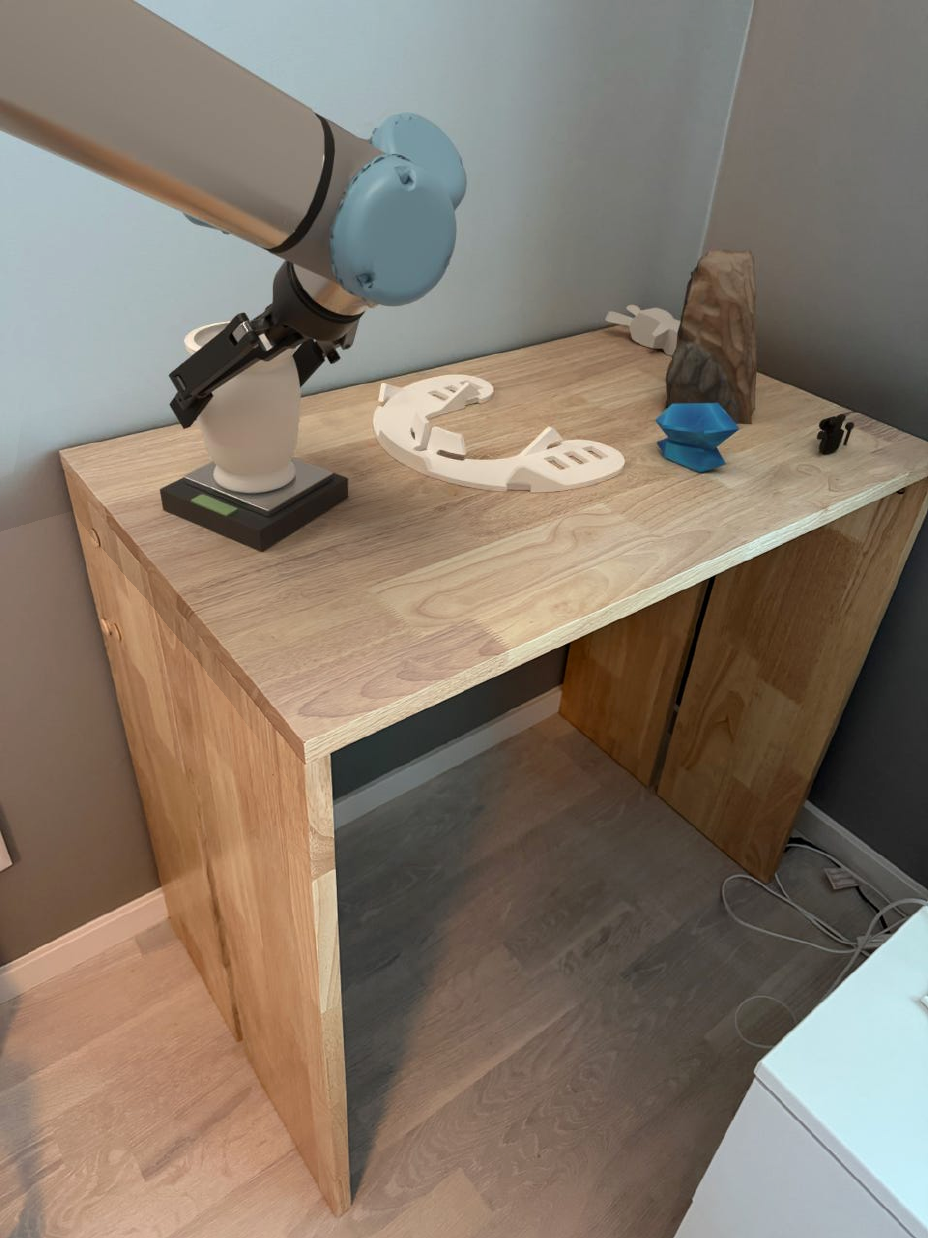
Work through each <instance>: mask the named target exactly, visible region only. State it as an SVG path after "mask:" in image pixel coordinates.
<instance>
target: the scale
mask: <svg viewBox="0 0 928 1238" xmlns="http://www.w3.org/2000/svg"><path fill="white" fill-rule="evenodd" d="M333 473H334V479H332V480H330V481H329V482H327V483H325V484H324V485H322V486H320V487H319V488H317V489H315V490H314V491H312V492H310V493H308V494H307V495H305V496H303V497H302V498H300V499H298V500H297V501H295V502H293V503H292V504H290V505H288V506H286V507H285V508H283V509H281V510H280V511H278V512H276V513H275V514H273V515H271V516H270V517H267V516H265V515H262V514H260V513H257V512H255V511H253V510H250V509H248V508H245V507H243V506H240V505H238V504H235V503H233V502H230V501H228V500H225V499H223V498H220V497H218V496H216V495H213V494H211V493H208V492H206V491H203V490H201V489H198V488H196V487H193V486H191V485H188V484H186V483H184V482H183V477H182V478H180V479H178V480H176V481H173V482H171V483H169V484H167V485H165V486H163V487H161V488H159V494H160V499H161V505H162V511H165V512H168V513H170V514H171V515H174V516H177V517H178V518H181V519H184V520H186V521H189V522H191V523H193V524H195V525H197V526H200V527H203V528H205V529H207V530H209V531H212V532H214V533H216V534H218V535H221V536H224V537H225V538H228V539H231V540H233V541H235V542H237V543H240V544H242V545H245V546H246V547H248V548H249V547H250V548H251V549H254V550H256V551H259V552H261V553H262V552H264V551H266V550H268V549H269V548H271V547H272V546H274V545H276V544H277V543H279V542H281V541H282V540H283V539H285V538H287V537H288V536H290V535H292V534H293V533H294V532H296V531H298V530H300V529H301V528H302V527H304V526H306V525H307V524H309V523H310V522H312V521H314V520H315V519H317V518H319V517H320V516H321V515H323V514H325V513H326V512H328V511H330V510H332V509H333V508H334V507H336V506H337V505H339V504H341V503H343V502H344V501H345V500H348V499H349V497H350V496H349V478H348V476H347V477H346V476H344V475H342V474H338V473H336V472H333Z"/></svg>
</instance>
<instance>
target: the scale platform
mask: <svg viewBox="0 0 928 1238" xmlns="http://www.w3.org/2000/svg"><path fill="white" fill-rule="evenodd" d="M291 462H292V463H293V465H294V467H295V470H296V473H295V476H294V478H293V479H292V480H291V481H290V482H289V483H288V484H286V485H285V486H283V487H281V488H278V489H275V490H272V491H267V492H260V493H241V492H235V491H231V490H228V489H226V488H224V487H222V486H220V485H219V484H218V483H217V482H216V481H215V479H214V469H215V467H216V464H215V462H214V461H213V460H212V461H210V462H209V463H208V462H207V464H204V465H203V466H200V467H198V468H196V469H194V470H192V471H190V472H188V473H186V474H184V475H182V478H183V482H184V483H186V484H188V485H191V486H193V487H196V488H198V489H201V490H203V491H206V492H208V493H211V494H213V495H216V496H218V497H220V498H223V499H225V500H228V501H230V502H233V503H235V504H238V505H240V506H243V507H245V508H248V509H250V510H253V511H255V512H257V513H260V514H262V515H265V516H267V517H270V516H271V515H273V514H275V513H276V512H278V511H280V510H281V509H283V508H285V507H286V506H288V505H290V504H292V503H293V502H295V501H297V500H298V499H300V498H302V497H303V496H305V495H307V494H308V493H310V492H312V491H314V490H315V489H317V488H319V487H320V486H322V485H324V484H325V483H327V482H329V481H330V480H332V479H334V473H335V472H334V471H331V470H329V469H326V468H322V467H320V466H317V465H315V464H312V463H309V462H306V461H303V460H301V459H298V458H295V457H294V456H293V457H292V459H291Z"/></svg>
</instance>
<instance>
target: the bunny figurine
mask: <svg viewBox="0 0 928 1238" xmlns="http://www.w3.org/2000/svg"><path fill="white" fill-rule="evenodd" d="M625 309H626V313H627V314H628V315H625V314H622V313H620V312H617V311H616V312H615V311H611V310H609V311H608V312H607V314H606V317H605V322H608V323H611V324H617V325H622V326H628V329H629V332H630V336H631V340H633V341H634V342H635V343H637V344H639V345H641V346H643V347H647V348H650V349H657V350H658V349H660V350H663V352H664V353H665V355H668V356H669V357H670V356H672V355H673V353H674V351H675V349H676V342H677V332H678V329H679V326H680V322H681V320H679V319H676V318H674V317H673V315H672V314H671V313H669V312H668V311H667V310H665V309H662V308H660V307H652V308H645V309H641V308H640V307H639V306H637V305H635V304H628V305H627V306H626V307H625ZM629 315H630V316H629ZM631 316H632V317H631Z"/></svg>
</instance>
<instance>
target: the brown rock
mask: <svg viewBox="0 0 928 1238" xmlns="http://www.w3.org/2000/svg"><path fill="white" fill-rule="evenodd" d="M754 258H755V257H754V255H753V254H752V250H751V249H750V248H747V249H744V250H741V251H738V250H732V251H731V250H728V249H721V248H715V249H711V250H709V251H707V252H706V254H705V255H703V256H701V257H700V258H699V259H698V260H697V264H696V266H695V267H694V269H693V270H692V271H690V278H689V281H688V282H687V285H686V291H685V297H684V302H683V307H682V311H681V314H680V321H681V322H680V326H679V329H678V332H677V342H676V349H675V351H674V353H673V355H671V360H670V362H669V363H668V366H667V368H666V372H665V390H666V392H665V393H666V400H665V407H664V408H666V409H667V408H668V407H669V406H671V405H672V404H673V403H719V404H720V406H721V407H722V408H723V409H724V410H725V412H726V413H727V414H728V415H729V416H730V418H731V419H732V420H733V421H734V422H735V424H746V425H747V424H749V425H750V424H753V419H752V416H753V414H754V413H755V410H756V388H757V387H756V385H757V373H758V372H757V371H758V370H757V369H758V368H757V364H758V363H757V362H758V361H757V360H758V357H757V356H758V341H757V340H758V338H757V325H756V324H757V321H756V320H757V316H756V314H757V313H756V312H757V306H756V297H757V295H756V294H757V293H756V277H755V276H756V275H755V261H754Z"/></svg>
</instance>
